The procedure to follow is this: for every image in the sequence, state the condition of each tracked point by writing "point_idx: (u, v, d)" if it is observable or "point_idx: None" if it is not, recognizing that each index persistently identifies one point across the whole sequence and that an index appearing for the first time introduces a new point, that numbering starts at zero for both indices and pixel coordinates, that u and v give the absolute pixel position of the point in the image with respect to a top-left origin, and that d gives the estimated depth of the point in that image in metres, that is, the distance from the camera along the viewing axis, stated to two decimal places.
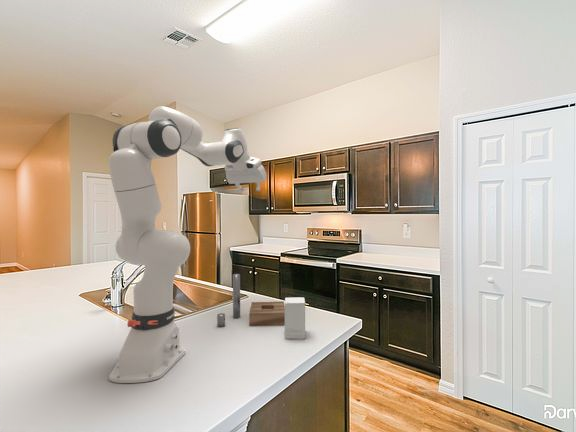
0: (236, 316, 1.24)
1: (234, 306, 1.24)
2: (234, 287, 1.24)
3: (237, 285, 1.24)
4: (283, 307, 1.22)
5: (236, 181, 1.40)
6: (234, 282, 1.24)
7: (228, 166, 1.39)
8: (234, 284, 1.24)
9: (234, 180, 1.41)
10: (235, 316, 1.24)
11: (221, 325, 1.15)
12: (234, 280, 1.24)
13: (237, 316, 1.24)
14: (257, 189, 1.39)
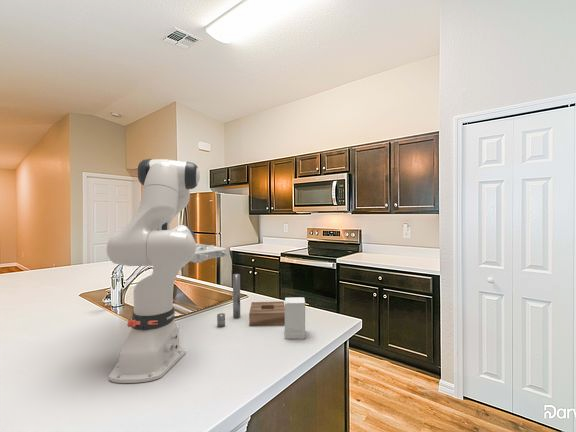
0: (236, 316, 1.24)
1: (234, 306, 1.24)
2: (234, 287, 1.24)
3: (237, 285, 1.24)
4: (283, 307, 1.22)
5: (199, 252, 1.32)
6: (234, 282, 1.24)
7: None
8: (234, 284, 1.24)
9: (197, 252, 1.31)
10: (235, 316, 1.24)
11: (221, 325, 1.15)
12: (234, 280, 1.24)
13: (237, 316, 1.24)
14: (224, 252, 1.36)
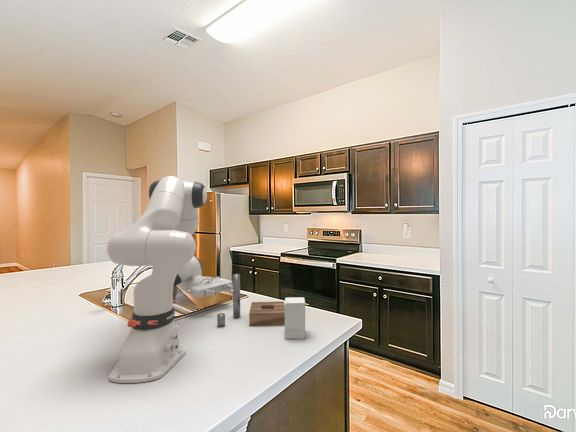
0: (236, 316, 1.24)
1: (234, 306, 1.24)
2: (234, 287, 1.24)
3: (237, 285, 1.24)
4: (283, 307, 1.22)
5: (206, 287, 1.29)
6: (234, 282, 1.24)
7: None
8: (234, 284, 1.24)
9: (203, 287, 1.29)
10: (235, 316, 1.24)
11: (221, 325, 1.15)
12: (234, 280, 1.24)
13: (237, 316, 1.24)
14: (230, 286, 1.34)
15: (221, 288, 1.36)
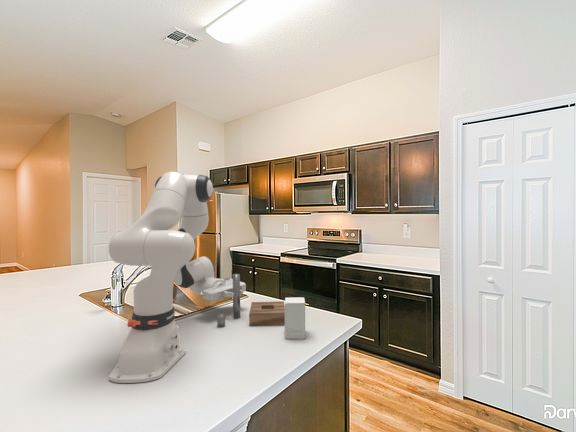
0: (236, 316, 1.24)
1: (234, 306, 1.24)
2: (234, 287, 1.24)
3: (237, 285, 1.24)
4: (283, 307, 1.22)
5: (219, 289, 1.24)
6: (233, 282, 1.24)
7: (203, 291, 1.26)
8: (234, 284, 1.24)
9: (217, 290, 1.24)
10: (235, 316, 1.24)
11: (221, 325, 1.15)
12: (234, 280, 1.24)
13: (237, 316, 1.24)
14: (240, 290, 1.27)
15: None
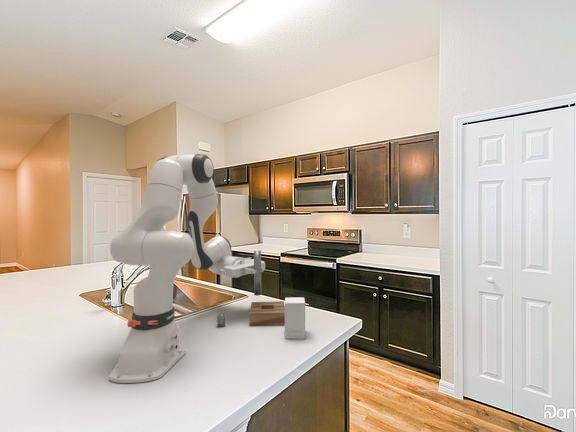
0: (257, 293, 1.22)
1: (255, 283, 1.22)
2: (255, 264, 1.22)
3: (258, 262, 1.22)
4: (283, 307, 1.22)
5: (240, 266, 1.23)
6: (255, 259, 1.22)
7: (223, 269, 1.25)
8: (255, 261, 1.22)
9: (238, 266, 1.22)
10: (256, 293, 1.22)
11: (221, 325, 1.15)
12: (255, 256, 1.22)
13: (258, 293, 1.22)
14: (261, 267, 1.25)
15: None
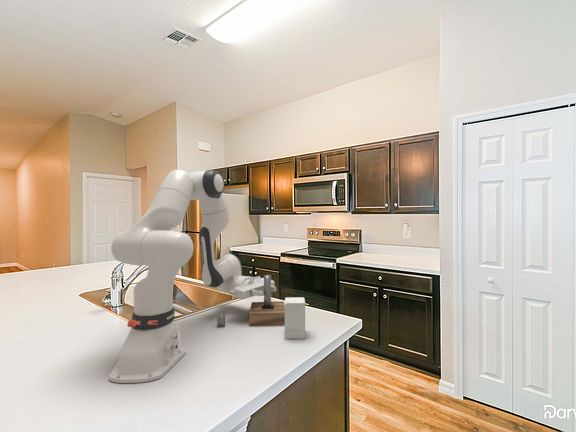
0: None
1: (265, 308, 1.22)
2: (265, 288, 1.21)
3: (268, 286, 1.21)
4: (283, 307, 1.22)
5: (250, 287, 1.22)
6: (265, 283, 1.21)
7: (233, 289, 1.24)
8: (265, 285, 1.21)
9: (248, 287, 1.22)
10: None
11: (221, 325, 1.15)
12: (265, 281, 1.21)
13: None
14: (273, 287, 1.26)
15: None
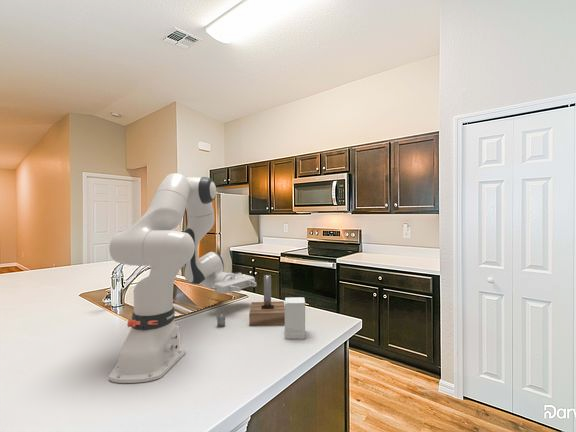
0: None
1: (265, 308, 1.22)
2: (265, 288, 1.21)
3: (268, 286, 1.21)
4: (283, 307, 1.22)
5: (230, 283, 1.29)
6: (265, 283, 1.21)
7: None
8: (265, 285, 1.21)
9: (228, 283, 1.29)
10: None
11: (221, 325, 1.15)
12: (265, 281, 1.21)
13: None
14: (254, 282, 1.34)
15: (244, 284, 1.35)
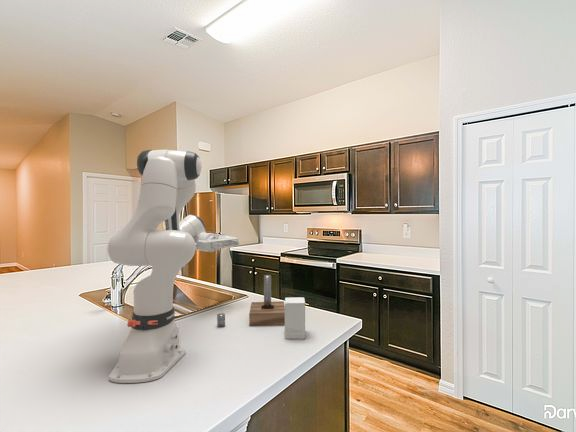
0: None
1: (265, 308, 1.22)
2: (265, 288, 1.21)
3: (268, 286, 1.21)
4: (283, 307, 1.22)
5: (212, 240, 1.31)
6: (265, 283, 1.21)
7: (197, 243, 1.33)
8: (265, 285, 1.21)
9: (210, 240, 1.30)
10: None
11: (221, 325, 1.15)
12: (265, 281, 1.21)
13: None
14: (236, 241, 1.35)
15: (227, 243, 1.37)
